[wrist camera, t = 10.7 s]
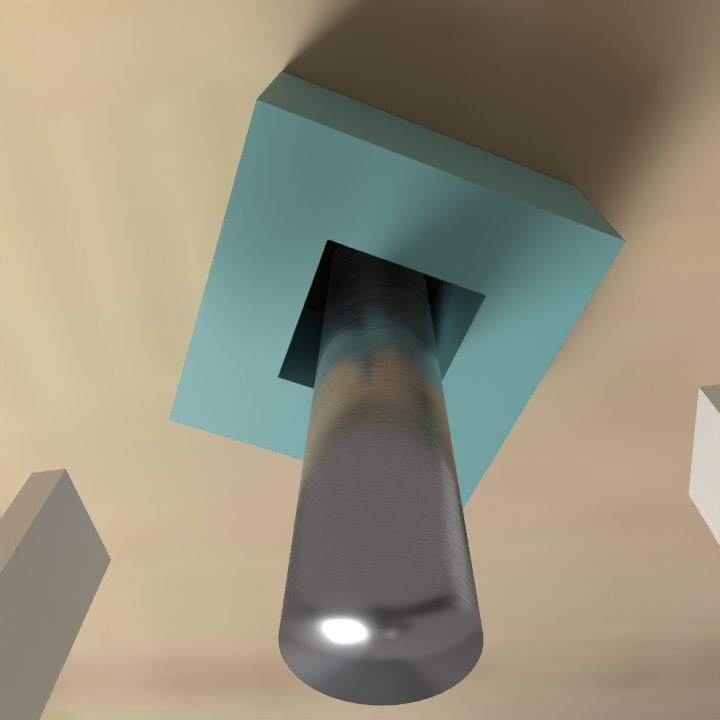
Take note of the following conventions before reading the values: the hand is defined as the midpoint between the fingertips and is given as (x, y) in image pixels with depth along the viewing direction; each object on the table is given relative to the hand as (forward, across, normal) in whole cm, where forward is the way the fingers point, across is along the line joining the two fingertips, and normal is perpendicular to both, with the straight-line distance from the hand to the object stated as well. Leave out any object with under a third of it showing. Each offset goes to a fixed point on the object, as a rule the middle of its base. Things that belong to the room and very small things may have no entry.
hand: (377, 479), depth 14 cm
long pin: (+11, 0, 0) cm, 11 cm away
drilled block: (+11, 0, 0) cm, 11 cm away
